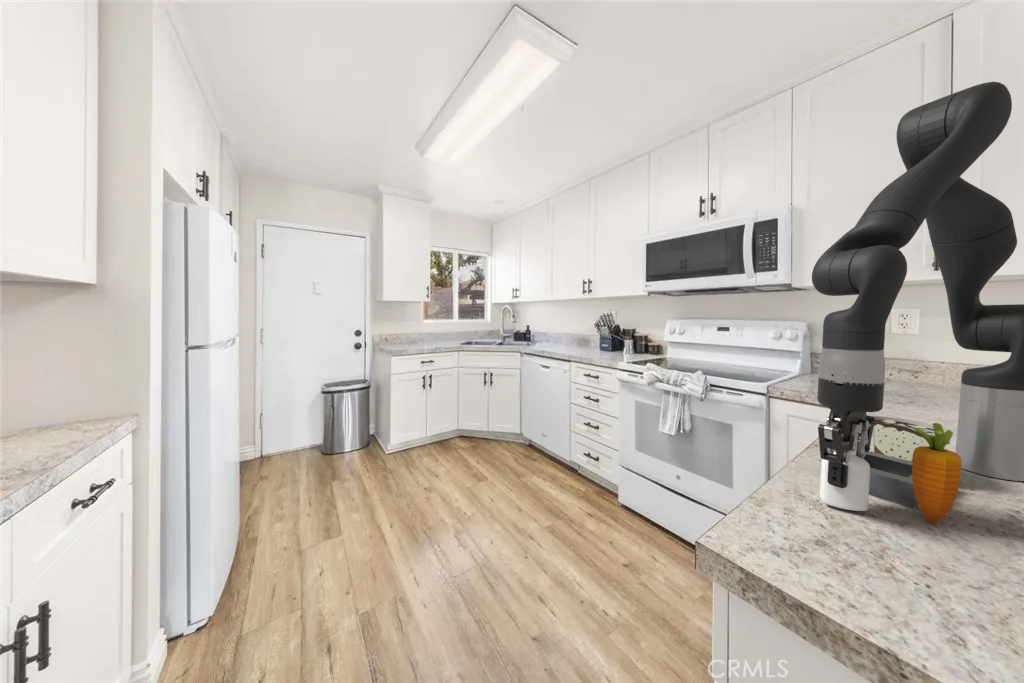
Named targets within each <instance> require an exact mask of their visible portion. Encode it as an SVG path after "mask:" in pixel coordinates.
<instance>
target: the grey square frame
mask: <svg viewBox="0 0 1024 683" xmlns="http://www.w3.org/2000/svg"><path fill="white" fill-rule="evenodd" d="M863 459H864V460H866V461H867V462H868V463H869V465H870V483H869V496H872V497H876V498H878V499H882V500H885V501H887V502H892V503H895V504H898V505H900V506H903V507H906V508H910V509H912V510H913V509H915V508H916V507H919V506H918V503H917V501H916V497H915V493H914V488H913V481H912V461H908V460H903V459H899V458H895V457H891V456H887V455H883V454H879V453H875V452H873V451H870V450H869V452H865V457H864V458H863Z"/></svg>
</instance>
